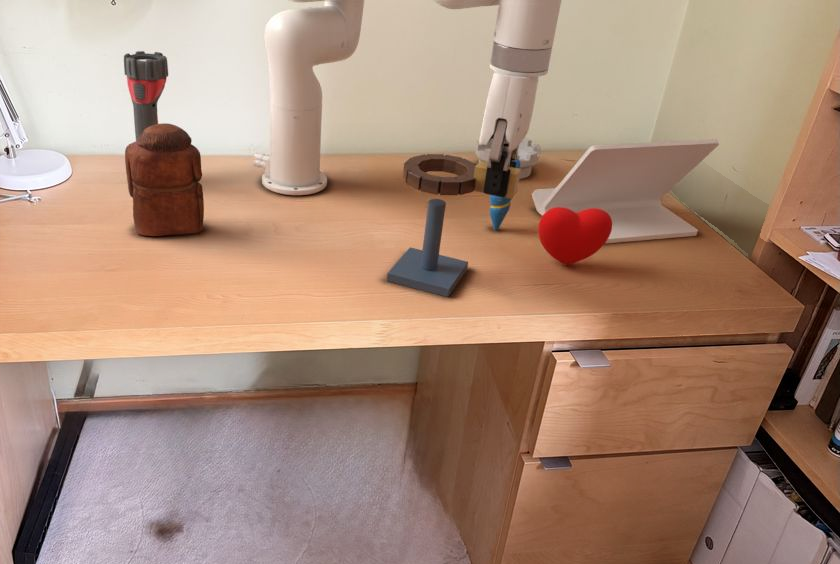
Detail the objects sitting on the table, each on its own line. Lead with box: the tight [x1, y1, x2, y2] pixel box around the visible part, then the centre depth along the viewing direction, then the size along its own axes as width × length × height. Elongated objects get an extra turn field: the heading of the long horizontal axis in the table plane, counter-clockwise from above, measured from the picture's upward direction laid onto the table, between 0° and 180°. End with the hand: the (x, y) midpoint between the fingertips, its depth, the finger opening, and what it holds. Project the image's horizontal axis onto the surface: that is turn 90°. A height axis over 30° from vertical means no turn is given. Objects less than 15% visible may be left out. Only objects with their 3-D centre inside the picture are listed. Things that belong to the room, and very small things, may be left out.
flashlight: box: [123, 50, 169, 141], centre depth 143 cm, size 8×8×23 cm
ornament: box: [489, 158, 520, 231], centre depth 134 cm, size 5×5×15 cm
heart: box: [537, 207, 612, 266], centre depth 126 cm, size 12×5×10 cm, turn 92°
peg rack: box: [386, 198, 469, 298], centre depth 119 cm, size 10×10×12 cm
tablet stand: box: [531, 138, 720, 244], centre depth 140 cm, size 18×25×17 cm
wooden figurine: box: [124, 122, 205, 237], centre depth 127 cm, size 12×6×18 cm, turn 106°
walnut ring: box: [402, 153, 521, 200], centre depth 112 cm, size 16×11×4 cm, turn 66°
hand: (497, 189), depth 111 cm, fingers closed on walnut ring, 2 cm apart
